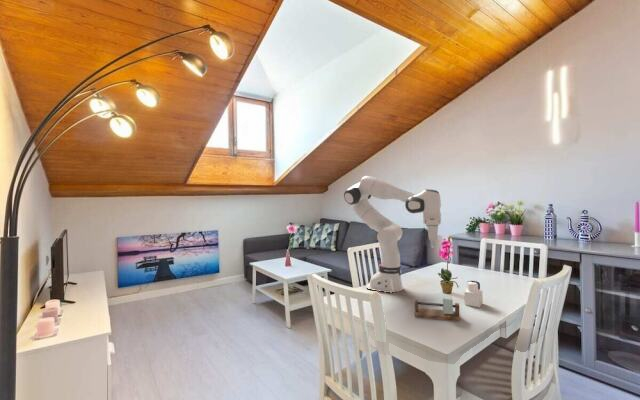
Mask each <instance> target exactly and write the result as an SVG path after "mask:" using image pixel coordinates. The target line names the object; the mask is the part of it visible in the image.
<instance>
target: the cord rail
mask: <svg viewBox="0 0 640 400" xmlns="http://www.w3.org/2000/svg"><path fill="white" fill-rule="evenodd" d="M419 305H421V306H432V307H433V306H434V307H442V308H443V303H437V302H436V303H435V302H426V301H425V302H424V301H419V300H418V299H415V300H414V317H415V318H419V317H420V318H421V319H429V320H431V319H432V320H441V321H449V322H451V321H452V322H461V317H460V303H458V302H456V303H454V304H453V308H454V310H453V314H444V313H443V309H442V310H441V309H436V308H435V309H433V308H424V307H423V308H422V307H419Z"/></svg>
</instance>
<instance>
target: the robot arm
mask: <svg viewBox="0 0 640 400" xmlns="http://www.w3.org/2000/svg"><path fill="white" fill-rule="evenodd" d="M371 197H373V198H377V199H381V200H397V201H401V202H403V203H404V204H405V205H404V207H405V209H406V211H408V213H410V214H421V213H422V215H423V216H422V217H423V219H422V221H423V224H425V226H426V228H427V234H428V240H429V241H430V248H432V249H434V248H436V247H435V244H436V241H437V239H438V232H439V225H440V224H442V213H441V207H442V203H441V195H440V192H439V191H438V190H437V189H430V188H429V189H428V188H426V189H424V190H423V191H421V192H420V193H418V194H414V193H412V192H409V191H408V190H407V191H406V190H404V189H401V188H399V187H397V186H396V185H393V184H391V183H389V182H387V181H385V180H384V179H381V178H377V177H375V176H369V175H365V176H363V177H362V178H361V179H360V181H359V182H356V183H355V184H353V185H352V186H350V187H348V188H347V189H346V190H345V191H344V193H343V199H344V200H345V202H346V203H347V204H348V205H350V206H351V205H352V209H353V211H354V212H355V214H356V215H357V216H358V218H359V219H361V220H362V221H363V222H364V224H366V225H367V226H368V227H369V228H370V229H371V230H374V231H375V232H376V233H377V235H376V238H377V239H376V240H377V242H378V243H379V247H380V251H381V252H380V253H381V254H380V255H381V264H378V271H377V272H376V273H374V274H372V276H371V277H370V281H369V283H367V284H366V285H365V287H366V289H367V288H368V289H375V290H378V291H377V292H379V290H380V291H384V292H383V293H386V292H390V293H389V294H392V292H393V293H396V292H397V293H398V292H401V291H403V290H404V286H403V283H402V282H403V281H402V266H401V253H400V251H399V247H398V241H399V240H401V238H402V236H403V228H401V227H400V226H399V225H397V224H396V223H394V222H393V221H391V220H390V219H388V218H387V217H385V216H384V215H383V214H382V213H381V212H380V211H378V210H377V209H376V208H375V207H374V206H373V205H372V204H371V203H370V202H369V199H371Z"/></svg>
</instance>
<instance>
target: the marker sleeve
mask: <svg viewBox="0 0 640 400" xmlns="http://www.w3.org/2000/svg"><path fill="white" fill-rule="evenodd" d="M453 303H454V302H453V296H452V295H446V294H445V295H443V294H442V304H443V307H442V310H443V313H444V314H453V311H454V309H453V308H454V307H453V305H454V304H453Z"/></svg>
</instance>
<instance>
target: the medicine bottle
mask: <svg viewBox="0 0 640 400" xmlns="http://www.w3.org/2000/svg"><path fill="white" fill-rule="evenodd" d="M483 301H484V300H483V290H482V289H481V284H480V282H478V281H477V280H469V281H467V282H466V290H465V291H464V305H465V306H470V307H474V308H480V307H481V306H482V305H483Z"/></svg>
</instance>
